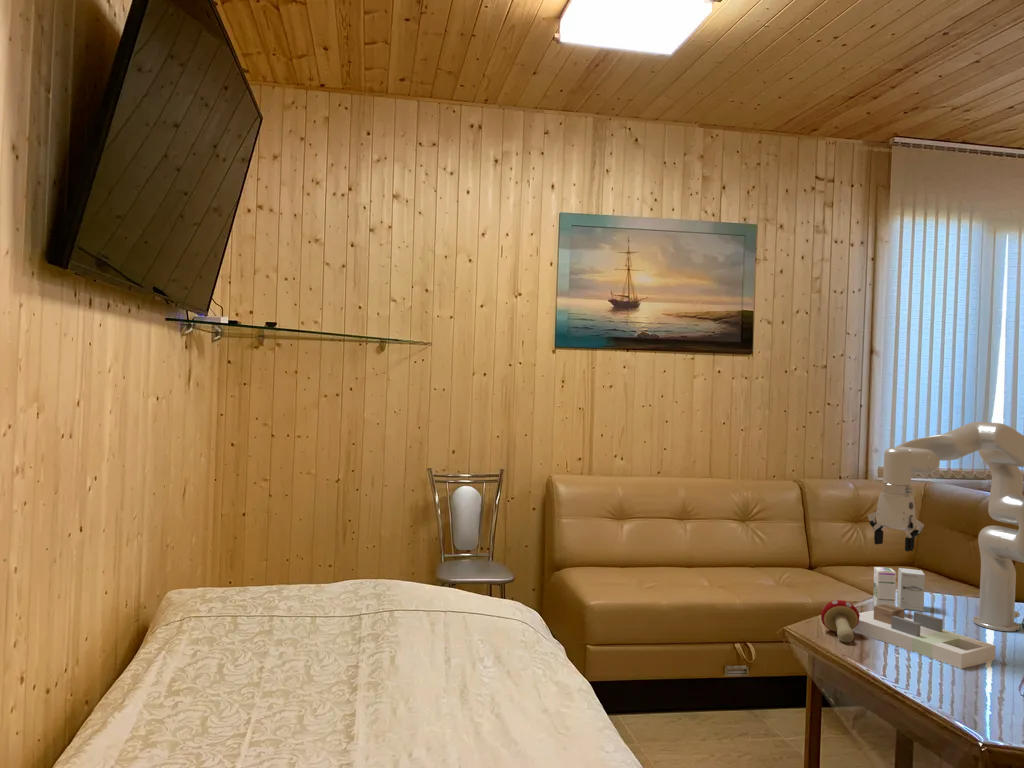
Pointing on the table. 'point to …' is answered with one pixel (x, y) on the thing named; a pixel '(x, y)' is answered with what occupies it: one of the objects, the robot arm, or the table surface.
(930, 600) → the table surface
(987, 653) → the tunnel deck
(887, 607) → the walnut block
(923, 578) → the supplement box
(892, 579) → the syrup box
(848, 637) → the decorative mushroom
